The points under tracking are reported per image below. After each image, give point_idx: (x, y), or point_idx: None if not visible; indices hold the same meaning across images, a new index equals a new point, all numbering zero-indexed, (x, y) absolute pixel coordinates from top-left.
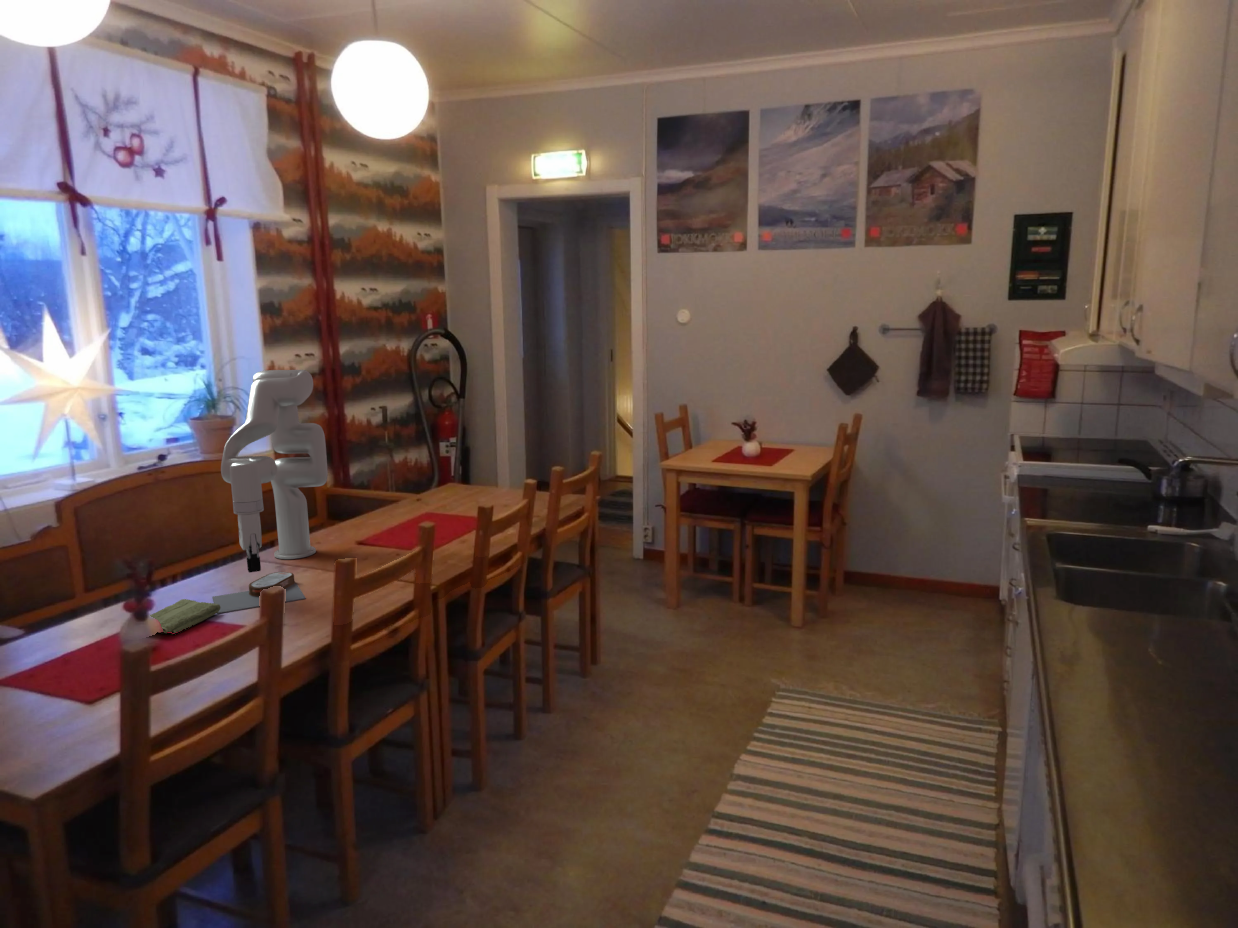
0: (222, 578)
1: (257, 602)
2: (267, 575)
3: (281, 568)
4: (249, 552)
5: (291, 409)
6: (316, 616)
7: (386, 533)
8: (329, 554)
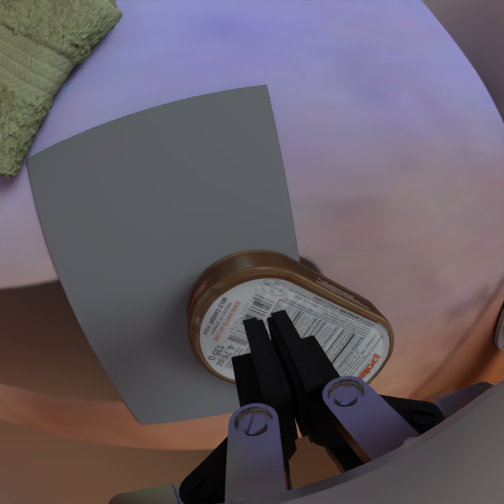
0: (471, 138)
1: (110, 300)
2: (373, 323)
3: (471, 304)
4: (229, 479)
5: None
6: (24, 419)
7: None
8: (478, 374)
